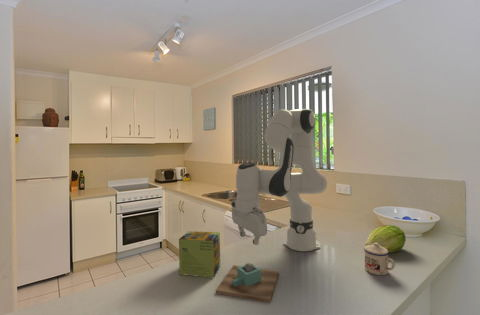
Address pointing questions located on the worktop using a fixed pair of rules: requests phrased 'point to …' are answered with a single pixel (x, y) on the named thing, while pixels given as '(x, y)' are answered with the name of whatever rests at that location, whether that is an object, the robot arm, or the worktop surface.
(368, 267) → the teacup with lid
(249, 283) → the teal open cubby box
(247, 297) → the post board
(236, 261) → the worktop surface
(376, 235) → the lettuce
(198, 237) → the protein box
